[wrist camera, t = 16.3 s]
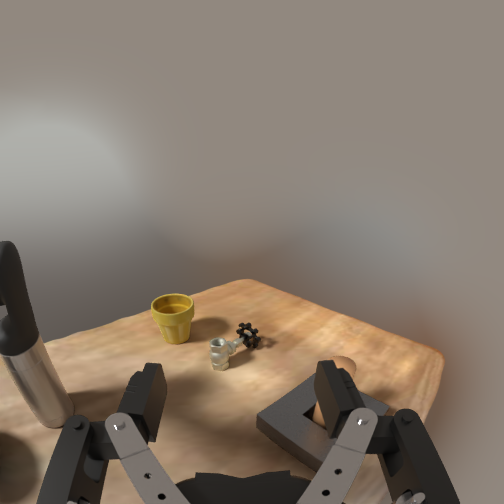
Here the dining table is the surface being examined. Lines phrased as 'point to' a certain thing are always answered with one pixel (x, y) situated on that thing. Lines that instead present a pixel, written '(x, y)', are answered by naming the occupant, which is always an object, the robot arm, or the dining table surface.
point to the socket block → (303, 424)
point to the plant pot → (173, 316)
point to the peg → (340, 363)
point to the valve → (231, 346)
